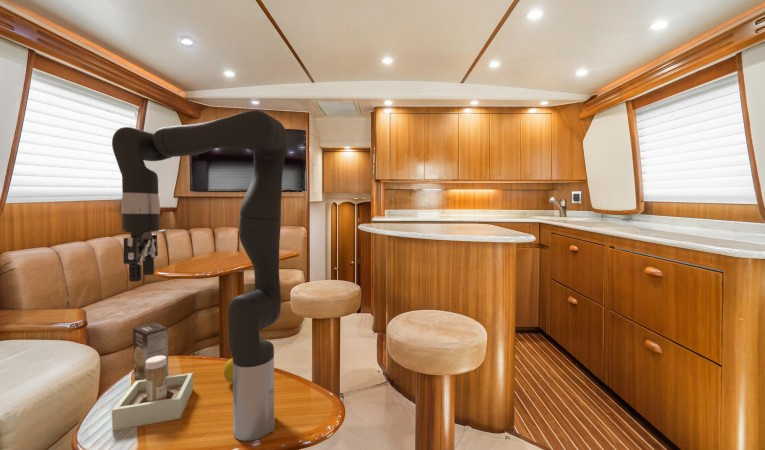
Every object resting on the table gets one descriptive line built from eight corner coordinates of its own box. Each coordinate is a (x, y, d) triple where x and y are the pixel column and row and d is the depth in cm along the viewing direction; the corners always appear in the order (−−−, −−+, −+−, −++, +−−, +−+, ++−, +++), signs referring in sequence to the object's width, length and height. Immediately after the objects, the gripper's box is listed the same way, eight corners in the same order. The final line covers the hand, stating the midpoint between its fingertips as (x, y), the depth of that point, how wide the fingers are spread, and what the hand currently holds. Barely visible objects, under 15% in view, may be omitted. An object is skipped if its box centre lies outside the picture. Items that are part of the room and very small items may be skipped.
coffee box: (133, 377, 100) (131, 327, 99) (155, 369, 105) (154, 321, 105) (146, 386, 95) (145, 333, 94) (170, 376, 100) (169, 327, 100)
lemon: (247, 381, 98) (247, 356, 98) (230, 389, 93) (230, 363, 93) (236, 376, 101) (236, 351, 100) (220, 384, 96) (219, 358, 96)
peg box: (193, 389, 93) (192, 372, 93) (180, 418, 80) (179, 399, 80) (136, 398, 89) (135, 380, 88) (112, 430, 75) (112, 410, 75)
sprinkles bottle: (167, 409, 84) (166, 359, 83) (145, 415, 81) (144, 364, 81) (167, 401, 87) (166, 353, 87) (147, 406, 85) (146, 357, 85)
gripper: (148, 212, 72) (150, 282, 73) (168, 212, 85) (169, 271, 86) (108, 212, 70) (110, 284, 70) (134, 212, 83) (136, 273, 84)
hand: (142, 277), depth 78 cm, fingers open, 8 cm apart
